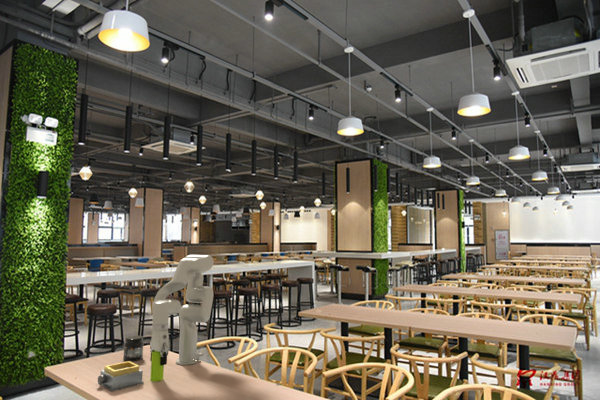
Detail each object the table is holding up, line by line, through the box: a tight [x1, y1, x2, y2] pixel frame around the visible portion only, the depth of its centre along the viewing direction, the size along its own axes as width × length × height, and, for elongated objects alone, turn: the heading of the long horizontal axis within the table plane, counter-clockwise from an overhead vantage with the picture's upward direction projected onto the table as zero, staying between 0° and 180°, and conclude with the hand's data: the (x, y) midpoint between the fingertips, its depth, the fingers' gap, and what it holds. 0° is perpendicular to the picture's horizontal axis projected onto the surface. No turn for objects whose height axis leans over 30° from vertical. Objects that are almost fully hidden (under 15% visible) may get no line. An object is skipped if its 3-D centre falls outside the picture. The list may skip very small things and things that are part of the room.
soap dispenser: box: [150, 351, 165, 383], centre depth 203 cm, size 6×7×20 cm
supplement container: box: [123, 335, 144, 362], centre depth 237 cm, size 10×10×12 cm
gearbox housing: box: [97, 361, 144, 392], centre depth 195 cm, size 17×15×8 cm
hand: (158, 362), depth 202 cm, fingers open, 9 cm apart
